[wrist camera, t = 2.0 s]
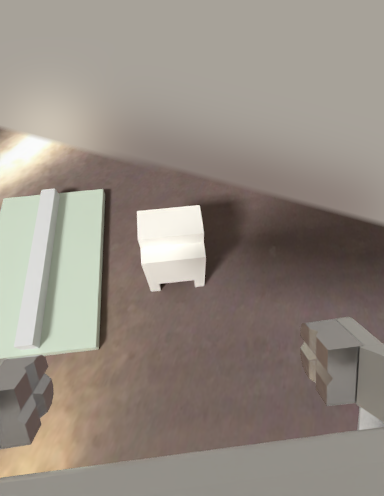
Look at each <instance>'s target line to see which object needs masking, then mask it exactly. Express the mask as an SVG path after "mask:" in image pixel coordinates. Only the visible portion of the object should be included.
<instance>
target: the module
mask: <svg viewBox="0 0 384 496" xmlns="http://www.w3.org/2000/svg"><path fill="white" fill-rule="evenodd" d="M137 227H138V242H139V245H140V248H141V265H142V267H143V270H144V273H145V276H146V278H147V281H148V284H149V287H150V289H151V292H152V291H161V285H160V284H162V283H172V282H181V281H190V280H194V283H195V287H198V286H204V284H205V266H206V254H205V247H204V230H203V223H202V217H201V210H200V205H195V206H185V207H175V208H165V209H154V210H144V211H137Z"/></svg>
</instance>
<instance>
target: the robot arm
mask: <svg viewBox="0 0 384 496" xmlns="http://www.w3.org/2000/svg"><path fill="white" fill-rule="evenodd" d="M300 336H301V337H302V339H303V340H304V341H305V342H304V344H303V345H302V347H301V348H300V351H301V361H302V365H303V368H304V371H305V373H306V375H307V376H308V378H309V379H311V380H312V381H314V382H316V390H317V392H318V393H319V395H320V396H321V398H322V399H323V401H324V403H325V404H326V406H331V405H341V404H351V403H356V404H357V405H358V406H360V407H361V408H363V409H364V410H366V411H367V412H369V413H370V414H372V415H373V416H375V417H376V418H378V419H379V420H381V421H382V422H384V344H382V343H381V342H380V341H379V340H378V339H376V338H375V337H374V336H373V335H372V334H370V333H369V332H368V331H367V330H366V329H364V328H363V327H362V326H361V325H360V324H358V323H357V322H356V321H355V320H354V319H352V318H350V317H343V318H337V319H330V320H323V321H317V322H310V323H304V324H301V328H300ZM47 368H48V365H47V361H46V358H45V357H44V356H43V355H33V356H23V357H13V358H3V359H0V449H5V448H11V447H17V446H24V445H30V444H31V443H32V441H33V439H34V437H35V435H36V433H37V432H38V430H39V428H40V426H41V421H40V418H41V417H42V416H43V415H44V414H46V413H47V412H48V410H49V408H50V406H51V404H52V399H53V384H52V379H51V378H50V377H49V376H47V375H46V374H45V372H46V370H47ZM0 496H384V427H379V428H372V429H364V430H357V431H349V432H342V433H334V434H327V435H319V436H312V437H304V438H297V439H289V440H282V441H274V442H267V443H259V444H252V445H244V446H237V447H229V448H222V449H214V450H207V451H199V452H192V453H184V454H176V455H169V456H161V457H154V458H146V459H139V460H131V461H124V462H116V463H109V464H101V465H94V466H86V467H79V468H71V469H64V470H56V471H48V472H41V473H33V474H26V475H18V476H11V477H3V478H0Z"/></svg>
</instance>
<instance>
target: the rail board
mask: <svg viewBox="0 0 384 496" xmlns="http://www.w3.org/2000/svg"><path fill="white" fill-rule="evenodd" d="M104 212H105V193H104V190H103V189H98V190H88V191H77V192H66V193H58V192H57V191H56V189H46V190H41V195H35V196H24V197H14V198H4V200H3V204H2V208H1V212H0V359H3V358H13V357H23V356H33V355H43V356H46V355H55V354H63V353H72V352H80V351H89V350H98V349H99V335H100V310H101V286H102V261H103V236H104Z"/></svg>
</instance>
